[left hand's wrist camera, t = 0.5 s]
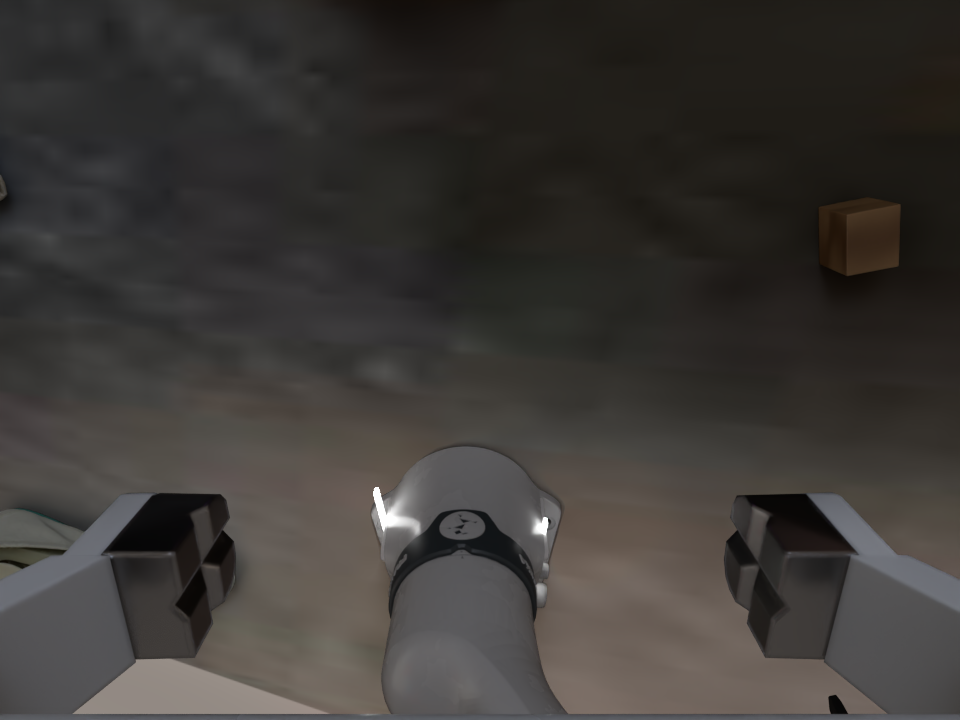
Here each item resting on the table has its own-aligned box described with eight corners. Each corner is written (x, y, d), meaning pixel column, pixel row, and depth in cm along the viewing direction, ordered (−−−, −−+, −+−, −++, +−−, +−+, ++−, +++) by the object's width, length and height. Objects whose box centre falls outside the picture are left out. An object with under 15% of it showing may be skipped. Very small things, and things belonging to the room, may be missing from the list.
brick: (866, 254, 55) (898, 266, 50) (818, 264, 55) (846, 276, 51) (867, 196, 53) (900, 204, 49) (818, 206, 53) (847, 214, 49)
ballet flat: (231, 610, 68) (200, 670, 61) (-5, 553, 66) (-66, 609, 58) (244, 549, 65) (214, 604, 58) (-2, 487, 63) (-66, 536, 55)
